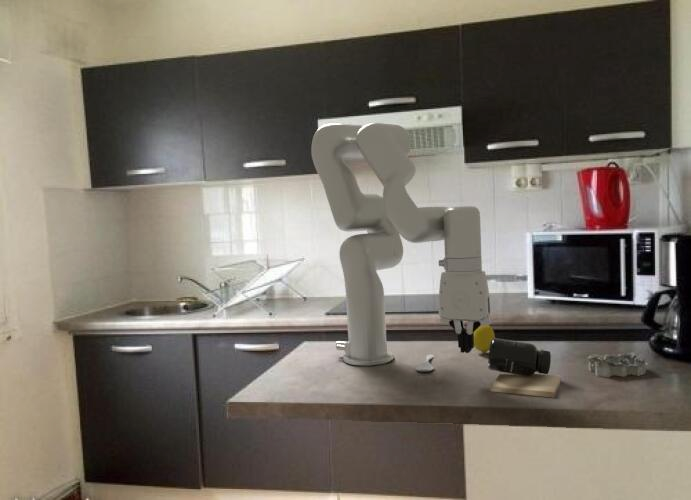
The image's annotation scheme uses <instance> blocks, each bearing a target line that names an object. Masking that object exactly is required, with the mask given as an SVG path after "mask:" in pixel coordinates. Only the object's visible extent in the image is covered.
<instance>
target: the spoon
mask: <svg viewBox="0 0 691 500" xmlns="http://www.w3.org/2000/svg"><path fill="white" fill-rule="evenodd" d="M434 357H435V355H434V354H427V355H426V357H425V358H426V359H425V360H424V361H422V363H420V364H419V365H417V366H416V367H415V370H416V371H417V372H421V373H428V372H432V371H433V370H434V369H435V368H434V366H433V365H432V363H430V360H431V359H433V358H434Z"/></svg>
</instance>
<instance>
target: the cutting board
mask: <svg viewBox="0 0 691 500" xmlns="http://www.w3.org/2000/svg"><path fill="white" fill-rule="evenodd" d="M561 382H562V375H556V374H542V373H541V374H540V373H534V374H533V375H531V376H523V375H517V374H511V373H505V372H500V373H499V375H498V376H497V377H496V379H495V380H494V382H492V383H491V385H490V392H494V393H495V392H496V393H504V394H514V395H516V394H517V395H527V396H536V397H545V398H546V397H547V398H555V397H556V394H557V392H558V389H559V387H560V384H561Z"/></svg>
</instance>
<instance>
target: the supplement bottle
mask: <svg viewBox="0 0 691 500" xmlns="http://www.w3.org/2000/svg"><path fill="white" fill-rule="evenodd" d="M551 359H552V355H551V351H550V350H544V349H540V350H538V348H537V346H536V345H535V344H533V343H530V342H523V341H516V340H509V339H503V338H496V337H495V338H493V339H492V340H491V344H490V350H489V351H488V362H487V363H488V364H487V365H488V366H487V368H488V369H489V370H490V371H493V372H494V371H495V372H500V373H501V372H505V373H511V374H517V375H523V376H531V375H533V374H536V372H537V374H545V375H549V372H550V369H551V362H552V360H551Z"/></svg>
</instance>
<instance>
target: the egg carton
mask: <svg viewBox="0 0 691 500" xmlns="http://www.w3.org/2000/svg"><path fill="white" fill-rule="evenodd" d="M586 360H588V370H589V372H595V376H597V377H602V378H603V377H604V378H610V377H612V376H619V377H621V376H622V377H627V376H629V375H630V376H632V375H633V376H637V377H638V376H639V377H641V376H640V375H646V374H647V373H646V366H647V365H648V366H649V363H648V362H646V361H645V359H644V358H642V357H640V356H639V355H638V354H636V353H635V352H634V351H630V352H625V353H619V354H616V353H615V352H614V353H612V354H596V353H592V354H590V355H589V356H587V357H586ZM645 373H646V374H645ZM631 374H632V375H631Z"/></svg>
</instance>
